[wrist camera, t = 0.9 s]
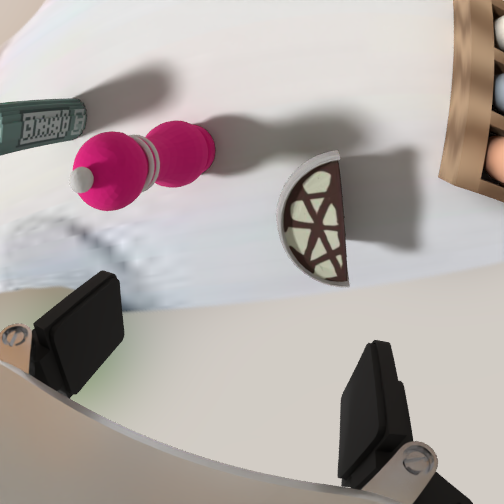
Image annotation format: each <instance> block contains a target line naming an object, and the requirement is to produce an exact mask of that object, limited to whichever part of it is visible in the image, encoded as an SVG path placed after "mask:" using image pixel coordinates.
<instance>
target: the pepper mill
mask: <svg viewBox="0 0 504 504" xmlns="http://www.w3.org/2000/svg"><path fill="white" fill-rule="evenodd" d="M214 156H215V144H214V141H213V139H212V137H211V135H210V134H209V133H208V132H207V131H206V130H205V129H204V128H202V127H200V126H197V125H192V124H190V123H187V122H184V121H170V122H165V123H162V124H160V125H158V126H157V127H155V128H154V129H152V130H151V131H150V132H149V133H148V134H147V136H146V137H143V136H140V135H130V136H128V135H126V134H124V133H120V132H113V131H112V132H104V133H100V134H98V135H96V136H94V137H92V138H90V139H89V140H88V141H87V142H85V143H84V144H83V145H82V147H81V148H80V150H79V151H78V153H77V155H76V158H75V161H74V165H73V171H72V173H71V174H70V176H69V185H70V187H71V189H72V190H73V191H74V192H76V193H78V194H79V196H80V197H81V198H82V199H83V201H84V202H86V203H87V204H88V205H90V206H91V207H93V208H96V209H99V210H103V211H113V210H118V209H121V208H124V207H126V206H127V205H129V204H130V203H132V202H133V201H134V200H135V199H136V198H137V197H138V196H139V195H140V193H141V192H144V191H146V190H148V189H149V188H150V187H151V186H152V185H153V184H154V183H156V184H158V185H161V186H165V187H181V186H184V185H187V184H190V183H191V182H193V181H194V180H196V179H197V178H198V177H199V176H200V175H201V173H203V172H205V171H206V170H207V169H208V168H209V167H210V166H211V164H212V162H213V160H214Z"/></svg>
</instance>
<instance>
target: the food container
mask: <svg viewBox="0 0 504 504" xmlns="http://www.w3.org/2000/svg"><path fill="white" fill-rule="evenodd" d="M337 160H340V155H339V152H338V150H335V151H330V152H326V153H323V154H320V155H317V156H315V157H313V158H311V159H309V160H308V161H306V162H305V163H303V164H302V165H301V166H300V167H298V168H297V169H296V170H295V171H294V173H293V174H292V175H291V176H290V177H289V179H288V180H287V182H286V183H285V185H284V187H283V189H282V192H281V194H280V197H279V201H278V204H277V214H276V217H277V228H278V232H279V236H280V240H281V243H282V245H283V248H284V250H285V252H286V253H287V255H288V257H289V258H290V259H291V261H292V262H293V263H294V264H295V265H296V266H297V267H298V268H299V269H300V270H301V271H302V272H303V273H305V274H306V275H308V276H309V277H311V278H312V279H314V280H316V281H318V282H321V283H323V284H327V285H330V286H336V287H350V286H349V278H348V269H347V259H346V257H347V255H346V242H345V225H344V213H343V212H344V211H343V200H342V197H343V196H342V188H341V178H340V170H339V163H338V161H337Z"/></svg>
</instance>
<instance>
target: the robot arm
mask: <svg viewBox="0 0 504 504" xmlns="http://www.w3.org/2000/svg"><path fill="white" fill-rule="evenodd" d="M34 327H35V329H33V330H32V331H31V329H30V327H28V326H27V325H25V324H19V323H17V324H12V325H9V326H7V327H6V328H4V329H3V330H2V331H1V332H0V504H473V503H472V502H471V501H470V499H468V498H467V497H466V496H465V495H463V494H462V493H461V492H460V491H459V490H457V489H456V488H455V487H454V486H452V485H451V484H450V483H449V482H447V481H446V480H445V479H444V478H443V477H441V476H440V475H439V474H438V473H437V472H436V469H437V467H438V459H437V455H436V454H435V452H434V450H433V449H432V448H431V447H429V446H428V445H427V444H424V443H422V442H418V441H413V436H412V430H411V423H410V417H409V411H408V405H407V400H406V395H405V390H404V385H403V383H402V382H401V381H398V377H397V372H396V367H395V362H394V358H393V353H392V349H391V345H390V343H389V342H384V341H378V340H374V341H373V342H372V343H368V344H367V345H366V347H365V349H364V352H363V354H362V356H361V358H360V360H359V362H358V364H357V366H356V368H355V370H354V372H353V374H352V376H351V378H350V381H349V382H348V384H347V386H346V388H345V390H344V392H343V394H342V397H341V412H340V413H341V414H340V442H339V443H340V444H339V462H338V478H342V485H341V486H343V487H339V486H333V485H326V484H319V483H312V482H306V481H300V480H294V479H289V478H284V477H279V476H273V475H269V474H264V473H260V472H255V471H251V470H247V469H243V468H239V467H235V466H231V465H228V464H224V463H220V462H217V461H214V460H210V459H207V458H204V457H201V456H198V455H195V454H192V453H189V452H186V451H183V450H180V449H178V448H175V447H172V446H169V445H166V444H164V443H161V442H159V441H156V440H154V439H151V438H149V437H146V436H144V435H142V434H139V433H137V432H135V431H132V430H130V429H128V428H126V427H124V426H122V425H119V424H117V423H115V422H113V421H111V420H109V419H107V418H105V417H103V416H101V415H99V414H97V413H95V412H93V411H91V410H89V409H87V408H85V407H83V406H82V405H80V404H78V403H76V402H74V401H73V400H71V399H70V397H71V396H72V395H73V394H77V393H78V392H79V391H80V390H81V389H82V387H83V386H84V385H85V384H86V382H87V381H88V380H89V379H90V378H91V377H92V375H93V374H94V373H95V372H96V371H97V370H98V368H99V367H100V366H101V365H102V364H103V363H104V361H105V360H106V359H107V358H108V357H109V356H110V354H111V353H112V352H113V351H114V350H115V349H116V347H117V346H118V345H119V344H120V343H121V342H122V340H123V338H124V325H123V316H122V305H121V294H120V282H119V280H118V279H117V277H116V275H115V274H112V273H109V272H106V271H100V272H99V273H97V274H96V275H95V276H93V277H92V278H91V279H89V280H88V281H87V282H85V283H84V284H83V285H81V286H80V287H79V288H77V289H76V290H75V291H73V292H72V293H71V294H70V295H68V296H67V297H66V298H64V299H63V300H62V301H61V302H60V303H58V304H57V305H56V306H54V307H53V308H52V309H51V310H50V311H48V312H47V313H46V314H45V315H43V316H42V317H41V318H39V319H38V320H37V321H36V322H35V323H34ZM57 391H58V392H57ZM346 487H351V488H346Z"/></svg>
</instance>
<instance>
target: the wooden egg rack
mask: <svg viewBox="0 0 504 504" xmlns="http://www.w3.org/2000/svg"><path fill="white" fill-rule="evenodd" d="M453 7H454V59H453V77H452V90H451V100H450V109H449V117H448V124H447V131H446V138H445V144H444V150H443V155H442V161H441V166H440V171H439V176H438V177H439V178H441V179H443V180H445V181H447V182H449V183H451V184H452V185H454V186H457V187H461V188H464V189H467V190H470V191H473V192H476V193H479V194H482V195H485V196H487V197H490V198H493V199H496V200H499V201H501V202H504V183H502V182H500V181H499V185H498V184H495V183H492V182H490V181H487V180H484V179H482V178H481V175H482V170H483V165H484V159H485V154H486V148H487V142H488V135H489V131H490V132H493V133H495V134H497V135H499V136H504V116H502V115H500V114H498V113H496V112H493V111H491V110H492V99H493V83H494V75H497V74H502V73H504V52H502V51H500V50H498V49H496V48H494V28H493V21H494V20H496V19H498V18H500V17H502V16H504V1H503V0H453Z"/></svg>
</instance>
